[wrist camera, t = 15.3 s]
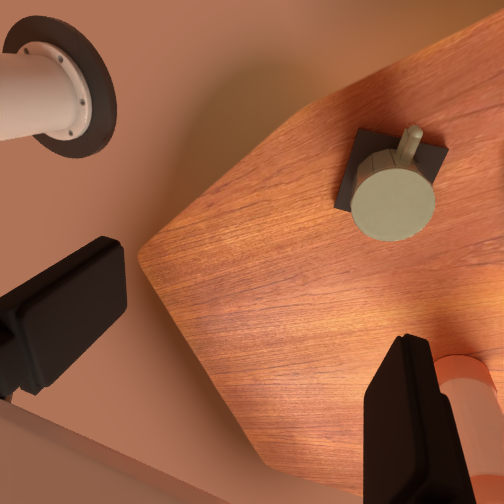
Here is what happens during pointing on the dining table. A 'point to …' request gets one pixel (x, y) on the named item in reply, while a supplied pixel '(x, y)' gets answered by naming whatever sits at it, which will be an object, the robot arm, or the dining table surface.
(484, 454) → the pepper shaker
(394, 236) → the cup
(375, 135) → the cup stand
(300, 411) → the dining table surface
